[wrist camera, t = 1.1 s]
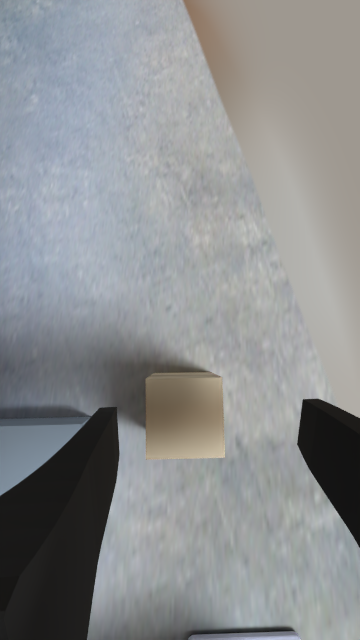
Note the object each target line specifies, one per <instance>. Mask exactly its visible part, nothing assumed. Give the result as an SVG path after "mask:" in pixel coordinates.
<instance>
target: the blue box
mask: <svg viewBox="0 0 360 640" xmlns="http://www.w3.org/2000/svg"><path fill="white" fill-rule="evenodd" d="M90 418H91V417H55V418H17V419H0V496H1V495H2V494H3V493H5V492H6V491H8V490H9V489H11V488H12V487H14V486H15V485H17V484H18V483H20V482H21V481H22V480H24V479H25V478H26V477H28V476H29V475H30V474H31V473H33V472H34V471H35V470H37V469H38V468H39V467H40V466H42V465H43V464H44V463H45V462H46V461H47V460H49V459H50V458H51V457H52V456H53V455H54V454H55V453H56V452H57V451H58V450H60V449H61V448H62V447H63V446H64V445H65V444H66V443H67V442H68V441H69V440H70V439H71V438H72V437H73V436H74V435H75V434H76V433H77V432H78V431H79V430H80V429H81V428H82V426H83V425H84V424H85V423H86V422H87V421H88V420H89V419H90Z"/></svg>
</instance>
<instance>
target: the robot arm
mask: <svg viewBox="0 0 360 640" xmlns="http://www.w3.org/2000/svg"><path fill="white" fill-rule="evenodd" d="M297 445H298V447H299V449H300V451H301V453H302V455H303V458H304V460H305V462H306V464H307V465H308V467H309V469H310V471H311V472H312V474H313V476H314V477H315V479H316V480H317V482H318V483H319V485H320V486H321V488H322V490H323V491H324V493H325V494H326V496H327V497H328V499H329V500H330V502H331V503H332V505H333V506H334V508H335V509H336V511H337V512H338V514H339V515H340V517H341V518H342V520H343V521H344V523H345V524H346V526H347V527H348V529H349V530H350V532H351V534H352V535H353V537H354V539H355V540H356V542H357V544H358V546H359V547H360V418H358V417H356V416H354V415H352V414H350V413H348V412H346V411H344V410H342V409H340V408H338V407H336V406H334V405H332V404H329V403H327V402H325V401H322V400H320V399H303V403H302V411H301V419H300V427H299V435H298V443H297ZM118 462H119V439H118V423H117V407H106V408H99V409H98V410H97V411H96V412H95V413H94V414H93V416H92V417H91V418H90V419H89V420H88V421H87V422H86V423H85V424H84V425H83V426H82V428H81V429H80V430H79V431H78V432H77V433H76V434H75V435H74V436H73V437H72V438H71V439H70V440H69V441H68V442H67V443H66V444H65V445H64V446H63V447H62V448H61V449H60V450H58V451H57V452H56V453H55V454H54V455H53V456H52V457H51V458H50V459H49V460H47V461H46V462H45V463H44V464H43V465H42V466H40V467H39V468H38V469H37V470H35V471H34V472H33V473H31V474H30V475H29V476H28V477H26V478H25V479H24V480H22V481H21V482H20V483H18V484H17V485H15V486H14V487H12V488H11V489H9V490H8V491H6V492H5V493H3V494H2V495H1V496H0V640H87V634H88V627H89V620H90V613H91V605H92V598H93V592H94V585H95V578H96V571H97V564H98V559H99V554H100V549H101V544H102V540H103V536H104V531H105V527H106V523H107V519H108V514H109V510H110V506H111V502H112V497H113V493H114V489H115V484H116V479H117V471H118ZM188 640H301V638H300V636H299V635H298V633H296V632H294V631H286V632H258V633H229V634H201V635H191V636H190V637H189V638H188Z"/></svg>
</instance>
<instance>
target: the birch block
mask: <svg viewBox="0 0 360 640" xmlns="http://www.w3.org/2000/svg"><path fill="white" fill-rule="evenodd" d="M190 458H225V444H224V416H223V388H222V377H220V376H218V375H216V374H214V373H212V372H177V373H153V374H151V375H150V376H149V377H148V378H146V460H149V459H190Z"/></svg>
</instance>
